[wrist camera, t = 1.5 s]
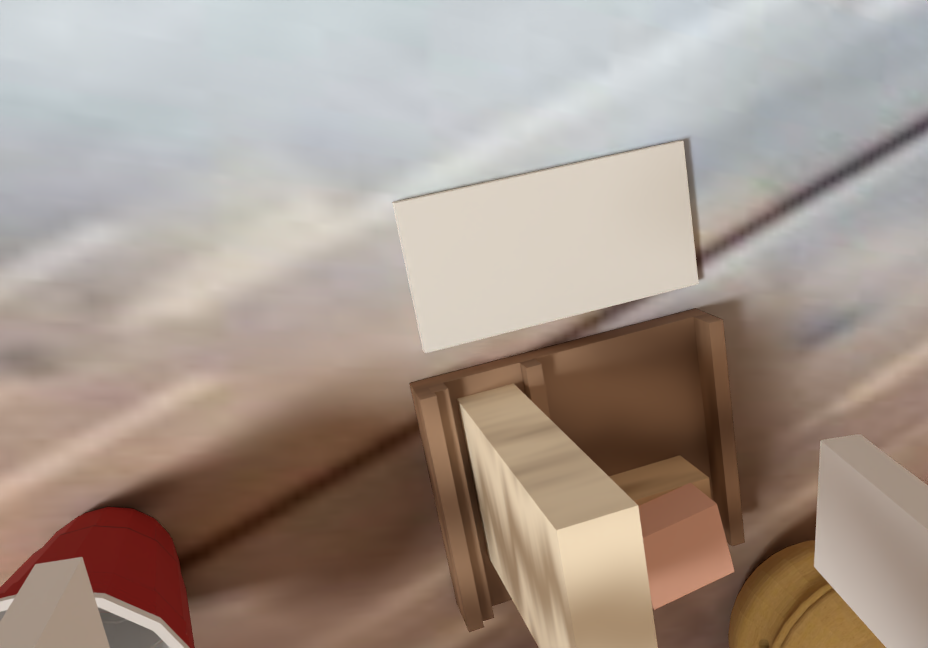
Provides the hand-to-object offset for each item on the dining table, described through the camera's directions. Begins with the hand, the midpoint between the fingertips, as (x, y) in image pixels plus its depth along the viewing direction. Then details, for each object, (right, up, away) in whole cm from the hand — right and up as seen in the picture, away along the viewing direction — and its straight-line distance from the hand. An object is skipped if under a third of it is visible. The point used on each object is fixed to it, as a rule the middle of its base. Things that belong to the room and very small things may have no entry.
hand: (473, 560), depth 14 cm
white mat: (+4, +8, +27) cm, 28 cm away
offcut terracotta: (+10, -6, +27) cm, 30 cm away
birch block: (+2, -3, +27) cm, 28 cm away
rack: (+6, -3, +30) cm, 30 cm away
